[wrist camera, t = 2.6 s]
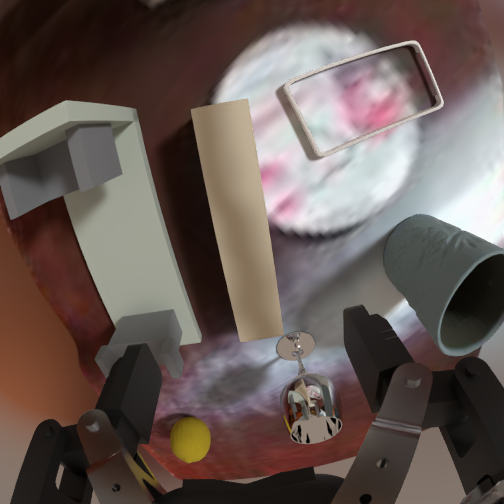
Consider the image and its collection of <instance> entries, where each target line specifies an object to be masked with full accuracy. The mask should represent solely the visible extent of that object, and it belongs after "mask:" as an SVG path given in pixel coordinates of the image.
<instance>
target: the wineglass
mask: <svg viewBox="0 0 504 504" xmlns="http://www.w3.org/2000/svg"><path fill="white" fill-rule="evenodd" d="M314 347H315V341H314V338H313V337H312V336H311V335H310V334H308V333H306V332H292V333H289V334H287V335H285V336H284V337H283V338H281V339H280V341H279V342H278V344H277V352H278V354H279V355H280V356H281V357H282V358H284V359H286V360H290V361H295V360H297V361H298V366H299V370H298V376H296V377H294V378H293V379H291V380H290V381H289V382H288V383H287V384H286V385H285V386H284V388H283V389H282V392H281V394H280V402H279V406H280V412H281V416H282V419H283V422H284V425H285V427H286V429H287V431H288V433H289V435H290V437H291V438H292V440H293V441H295V442H297V443H301V444H313V443H318V442H322V441H325V440H327V439H329V438H331V437H333V436H334V435H336V434H337V433H338V432H339V431H340V430H341V428H342V405H341V398H340V395H339V392H338V390H337V388H336V386H335V384H334V383H333V382H332V381H331V380H330V379H329V378H328V377H326V376H324V375H322V374H318V373H308V372H307V370H306V369H305V368H304V366H303V364H302V360H301V359H303V358H305V357H307V356H308V355H309V354H311V352H312V351H313V349H314Z"/></svg>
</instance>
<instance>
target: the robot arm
mask: <svg viewBox="0 0 504 504" xmlns="http://www.w3.org/2000/svg"><path fill="white" fill-rule="evenodd" d="M343 318H344V344H345V348H346V352H347V354H348V357H349V359H350V361H351V363H352V366H353V368H354V370H355V373H356V375H357V377H358V380H359V382H360V384H361V387H362V389H363V391H364V394H365V396H366V398H367V401H368V403H369V406H370V408H371V411H372V413H375V412H378V411H379V413H378V416H377V418H376V420H374V421H373V423H372V425H371V427H370V429H369V431H368V433H367V436H366V438H365V440H364V442H363V444H362V446H361V448H360V450H359V452H358V454H357V456H356V458H355V460H354V462H353V464H352V466H351V468H350V470H349V472H348V474H347V476H346V477H345V479H344V478H341V477H338V476H334V475H328V474H315V473H314V468H313V467H308V468H303V469H298V470H292V471H286V472H280V473H277V474H275V475H272V476H269V477H266V478H263V479H261V480H258V481H255V482H251V483H248V484H242V483H235V482H228V481H222V480H216V479H183V486H182V488H178V489H175V490H172V491H170V492H168V493H167V492H166V490H165V489H164V488H163V487H162V486H161V485H160V484H159V482H158V481H157V479H156V478H155V476H154V475H153V473H152V472H151V470H150V469H149V467H148V466H147V464H146V463H145V461H144V459H143V458H142V456H141V455H140V453H139V452H138V451H137V447H138V444H149V439H150V434H151V430H152V425H153V420H154V415H155V411H156V406H157V402H158V397H159V393H160V389H161V384H162V374H161V370H160V368H159V366H158V364H157V362H156V360H155V358H154V356H153V354H152V352H151V350H150V348H149V346H148V345H147V344H146V343H140V344H131V345H128V346H127V348H126V351H125V353H124V355H123V357H120V358H119V359H118V360H117V361H116V362H115V363H114V364H113V365H112V368H111V370H110V372H109V376H108V377H107V380H106V384H104V387H103V389H102V392H101V394H100V397H99V400H98V402H97V405H96V407H95V409H94V410H90V411H87V412H86V413H84V414H83V415H82V416H81V417H80V418H79V420H78V423H77V424H75V425H70V426H66V427H62V426H61V425H60V424H59V423H58V422H57V421H56V420H54V419H48V420H45V421H43V422H42V423H40V424H39V425H38V427H37V428H36V430H35V432H34V435H33V437H32V440H31V442H30V445H29V448H28V450H27V453H26V456H25V459H24V462H23V465H22V467H21V470H20V473H19V476H18V479H17V482H16V486H15V489H14V492H13V496H12V499H11V503H10V504H91V498H92V492H93V489H94V491H95V494H96V496H97V498H98V500H99V502H100V504H395V502H396V499H397V497H398V494H399V492H400V490H401V488H402V485H403V483H404V480H405V478H406V475H407V473H408V470H409V467H410V464H411V462H412V459H413V456H414V453H415V450H416V447H417V444H418V441H419V438H420V434H421V429H422V428H431V427H439V429H440V431H441V434H442V436H443V438H444V440H445V443H446V445H447V447H448V450H449V452H450V455H451V457H452V459H453V462H454V464H455V467H456V470H457V472H458V474H459V477H460V480H461V482H462V485H463V488H464V491H465V493H466V497H465V498H463V500H462V501H461V503H460V504H504V388H503V386H502V385H501V383H500V382H499V380H498V379H497V377H496V376H495V374H494V373H493V372H492V370H491V369H490V367H489V366H488V365H487V363H486V362H485V361H483V360H481V359H480V358H477V357H466V358H463V359H461V360H460V361H459V362H458V363H457V364H456V366H455V369H454V370H446V371H431V370H430V369H429V368H428V367H427V366H425V365H423V364H420V363H415V361H414V360H413V358H412V357H411V355H410V354H409V352H408V351H407V349H406V348H405V346H404V345H403V343H402V342H401V340H400V339H399V337H397V334H396V333H395V331H394V330H393V328H392V327H391V325H390V324H389V322H388V321H387V320H386V319H385V318H383V317H381V316H380V315H378V314H374V315H369V314H368V312H367V310H366V309H365V307H364V306H363V305H358V306H354V307H350V308H346V309H344V311H343ZM60 464H61V465H62V466H63V467H64V471H63V475H62V478H61V483H60V486H59V490H58V489H57V487H56V483H55V481H56V476H57V473H58V469H59V465H60Z"/></svg>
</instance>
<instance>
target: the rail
mask: <svg viewBox="0 0 504 504" xmlns="http://www.w3.org/2000/svg"><path fill="white" fill-rule="evenodd" d="M191 113H192V119H193V124H194V130H195V135H196V140H197V146H198V151H199V156H200V161H201V166H202V171H203V176H204V181H205V186H206V191H207V196H208V201H209V206H210V210H211V215H212V220H213V225H214V229H215V234H216V239H217V243H218V248H219V252H220V257H221V261H222V266H223V270H224V275H225V279H226V283H227V288H228V292H229V296H230V301H231V305H232V309H233V313H234V317H235V322H236V326H237V330H238V334H239V338H240V342H245V341H252V340H258V339H265V338H271V337H277V336H283V335H284V332H283V325H282V318H281V310H280V303H279V296H278V289H277V281H276V274H275V267H274V261H273V254H272V247H271V240H270V233H269V227H268V220H267V214H266V207H265V201H264V194H263V188H262V181H261V175H260V169H259V163H258V157H257V150H256V144H255V138H254V132H253V126H252V120H251V115H250V109H249V103H248V99H243V100H236V101H230V102H225V103H219V104H214V105H209V106H204V107H199V108H194V109H191Z"/></svg>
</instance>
